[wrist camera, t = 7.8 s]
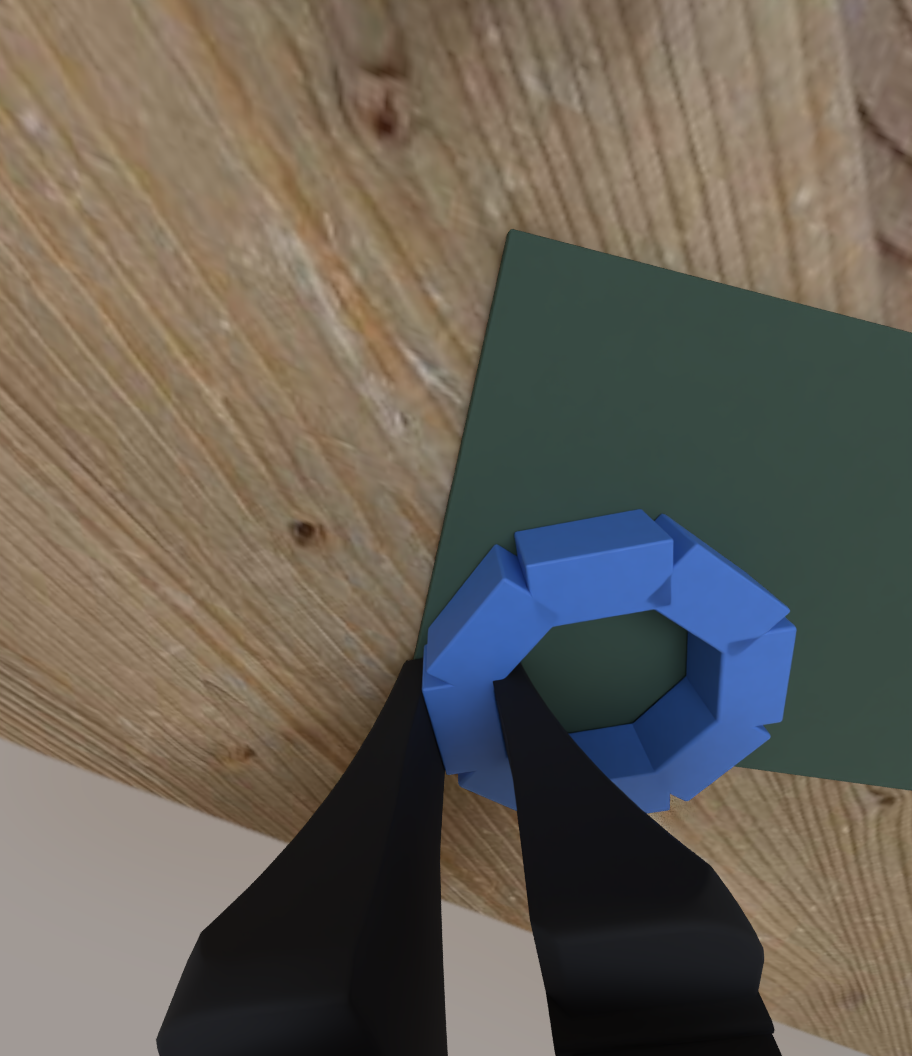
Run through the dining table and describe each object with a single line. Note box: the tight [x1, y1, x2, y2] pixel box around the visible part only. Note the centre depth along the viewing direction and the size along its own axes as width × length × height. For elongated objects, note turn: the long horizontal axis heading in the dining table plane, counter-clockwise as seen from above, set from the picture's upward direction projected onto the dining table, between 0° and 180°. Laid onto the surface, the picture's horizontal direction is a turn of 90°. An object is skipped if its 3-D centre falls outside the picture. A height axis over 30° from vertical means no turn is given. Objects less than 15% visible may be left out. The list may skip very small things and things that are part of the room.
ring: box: [422, 509, 797, 813], centre depth 11 cm, size 8×8×2 cm
